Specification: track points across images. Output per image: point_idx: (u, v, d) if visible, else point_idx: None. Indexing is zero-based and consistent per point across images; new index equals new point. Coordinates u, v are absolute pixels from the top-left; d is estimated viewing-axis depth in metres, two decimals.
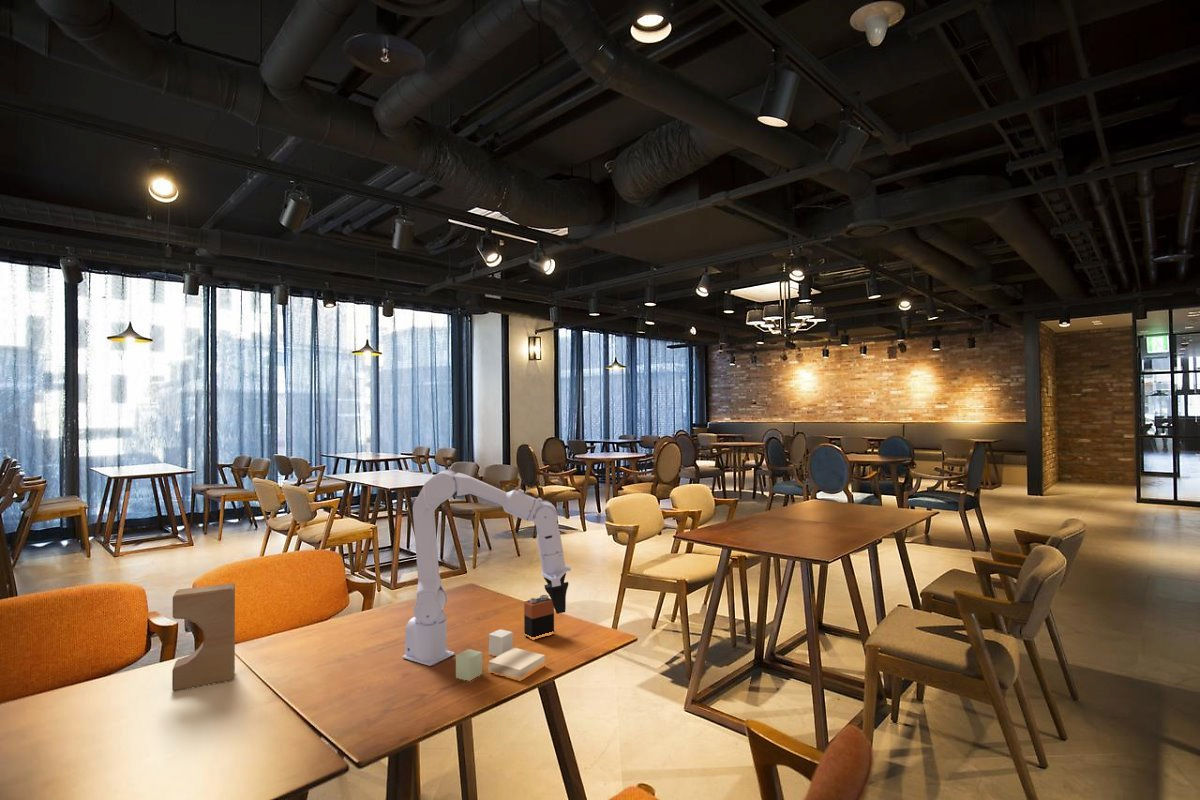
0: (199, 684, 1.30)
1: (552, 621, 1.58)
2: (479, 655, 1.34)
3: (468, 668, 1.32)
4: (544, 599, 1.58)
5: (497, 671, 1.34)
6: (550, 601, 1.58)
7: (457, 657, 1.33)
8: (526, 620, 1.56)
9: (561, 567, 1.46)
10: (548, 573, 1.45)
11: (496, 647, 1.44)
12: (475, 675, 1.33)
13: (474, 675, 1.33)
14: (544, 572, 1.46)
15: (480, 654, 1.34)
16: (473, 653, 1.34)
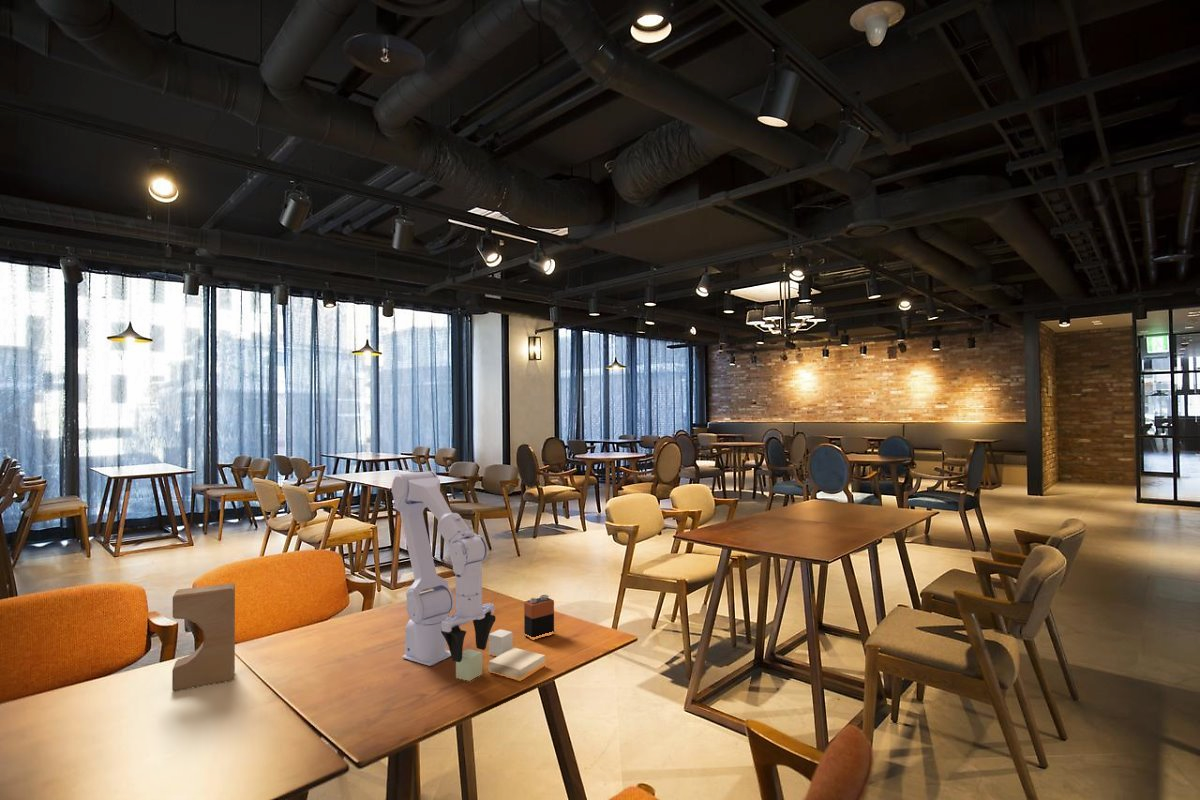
0: (199, 684, 1.30)
1: (552, 621, 1.58)
2: (479, 655, 1.34)
3: (468, 668, 1.32)
4: (544, 599, 1.58)
5: (497, 671, 1.34)
6: (550, 601, 1.58)
7: None
8: (526, 620, 1.56)
9: (468, 613, 1.31)
10: (455, 614, 1.33)
11: (496, 647, 1.44)
12: (475, 675, 1.33)
13: (474, 675, 1.33)
14: (456, 611, 1.34)
15: (480, 654, 1.34)
16: (473, 653, 1.34)
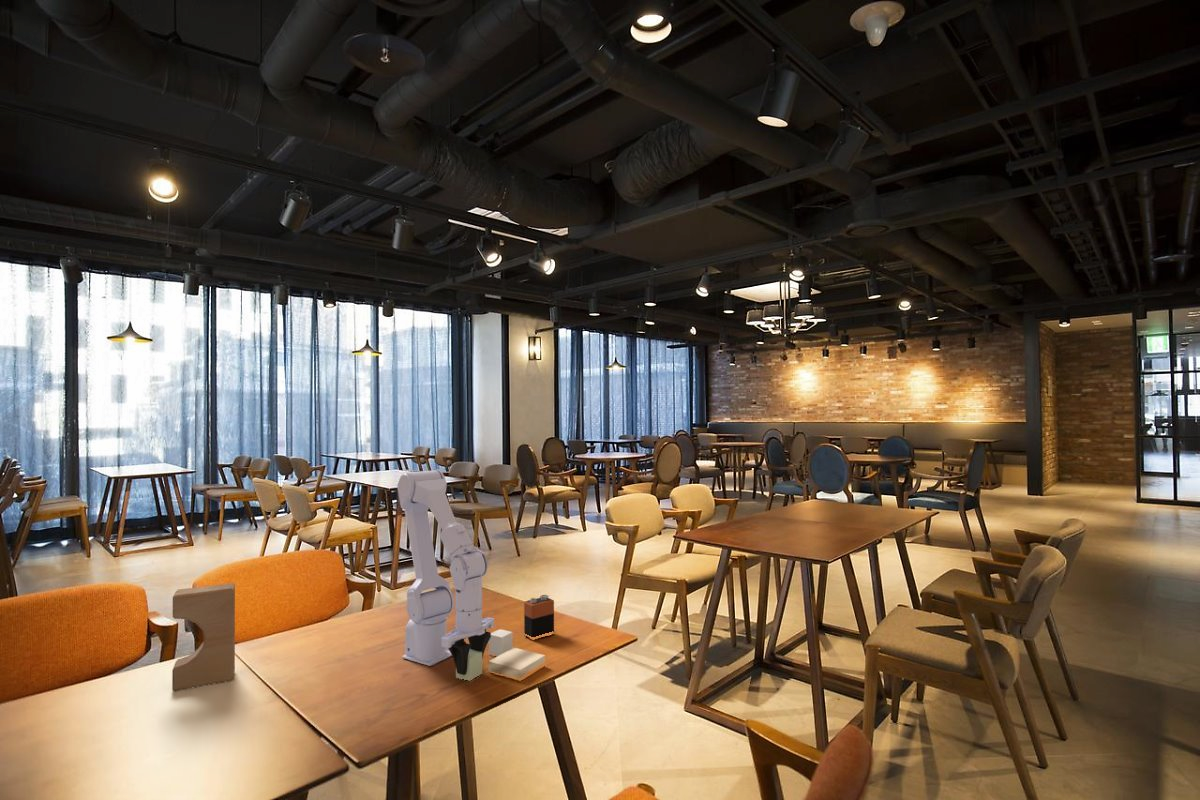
0: (199, 684, 1.30)
1: (552, 621, 1.58)
2: (479, 655, 1.34)
3: (468, 668, 1.32)
4: (544, 599, 1.58)
5: (497, 671, 1.34)
6: (550, 601, 1.58)
7: None
8: (526, 620, 1.56)
9: (468, 628, 1.31)
10: (455, 629, 1.33)
11: (496, 647, 1.44)
12: (475, 675, 1.33)
13: (474, 675, 1.33)
14: None
15: (480, 654, 1.34)
16: (473, 653, 1.34)
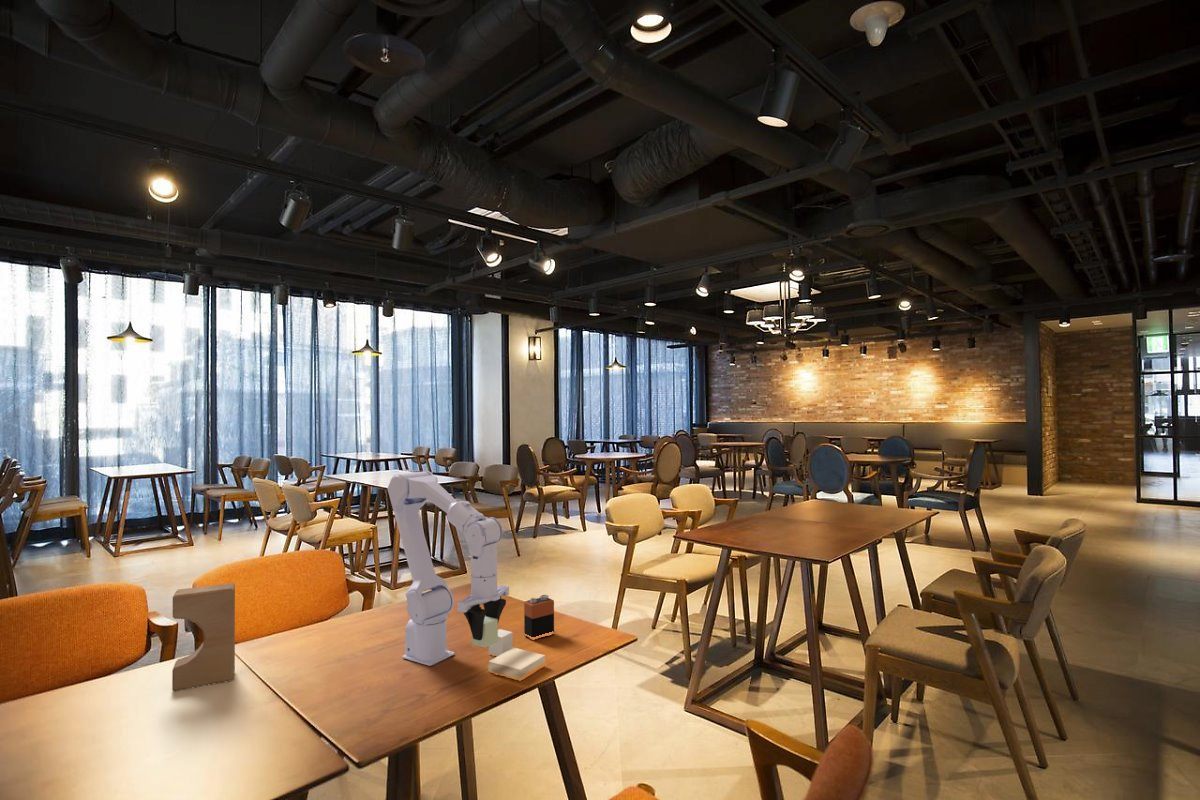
0: (199, 684, 1.30)
1: (552, 621, 1.58)
2: (494, 622, 1.35)
3: (484, 634, 1.32)
4: (544, 599, 1.58)
5: (497, 671, 1.34)
6: (550, 601, 1.58)
7: None
8: (526, 620, 1.56)
9: (483, 594, 1.32)
10: (471, 595, 1.34)
11: (496, 647, 1.44)
12: (491, 641, 1.34)
13: (490, 641, 1.34)
14: (471, 593, 1.35)
15: (496, 620, 1.35)
16: (489, 619, 1.35)
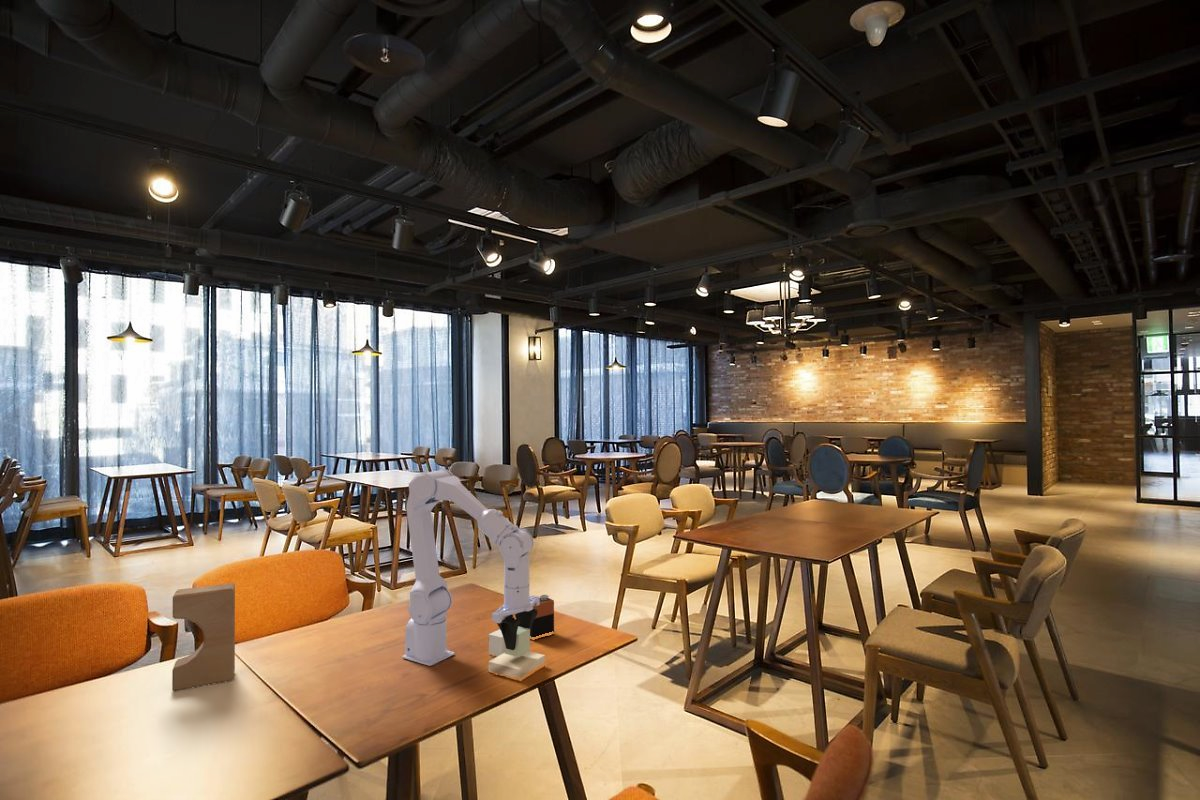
0: (199, 684, 1.30)
1: (552, 621, 1.58)
2: (527, 631, 1.37)
3: (517, 644, 1.35)
4: (544, 599, 1.58)
5: (497, 671, 1.34)
6: (550, 601, 1.58)
7: None
8: None
9: (516, 605, 1.35)
10: (504, 606, 1.36)
11: (496, 647, 1.44)
12: (524, 651, 1.36)
13: (523, 651, 1.36)
14: (504, 603, 1.37)
15: (528, 630, 1.38)
16: (521, 629, 1.38)
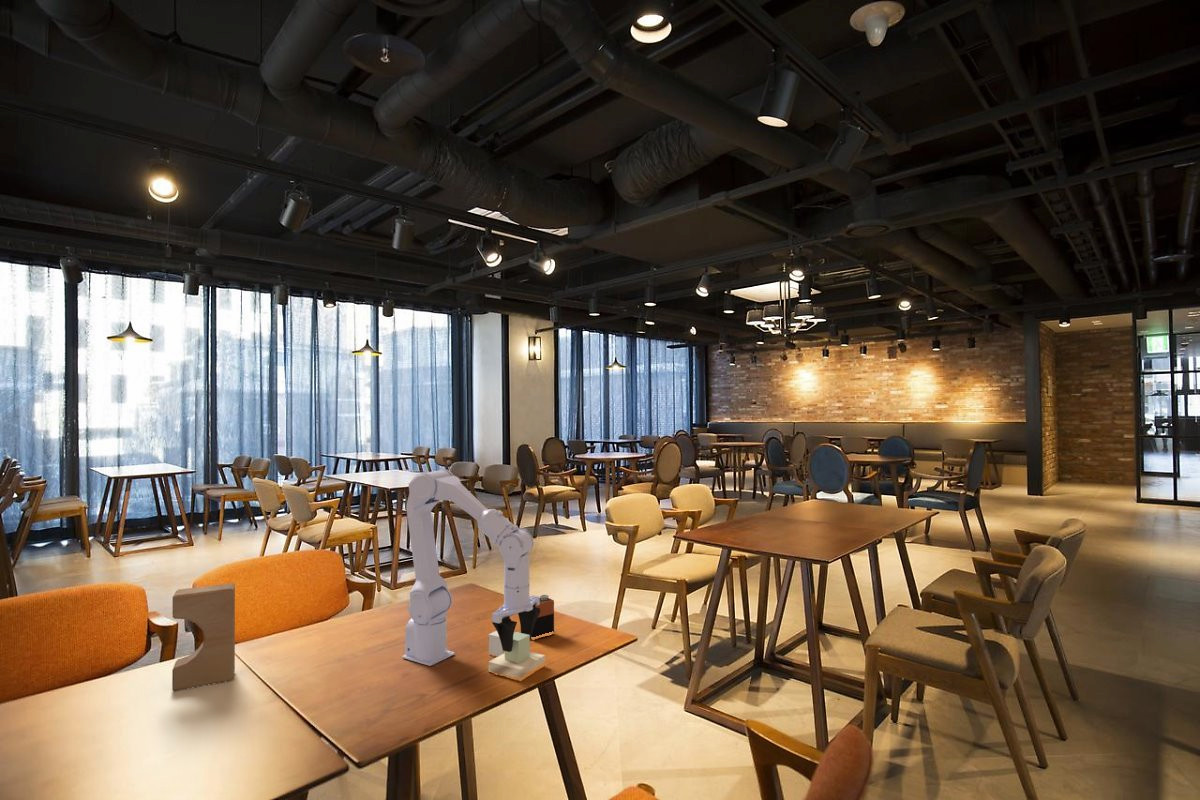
0: (199, 684, 1.30)
1: (552, 621, 1.58)
2: (527, 638, 1.37)
3: (517, 650, 1.35)
4: (544, 599, 1.58)
5: (497, 671, 1.34)
6: (550, 601, 1.58)
7: None
8: None
9: (516, 605, 1.35)
10: (504, 606, 1.36)
11: (496, 647, 1.44)
12: (523, 657, 1.36)
13: (523, 657, 1.36)
14: (504, 603, 1.37)
15: (528, 636, 1.38)
16: (521, 635, 1.38)
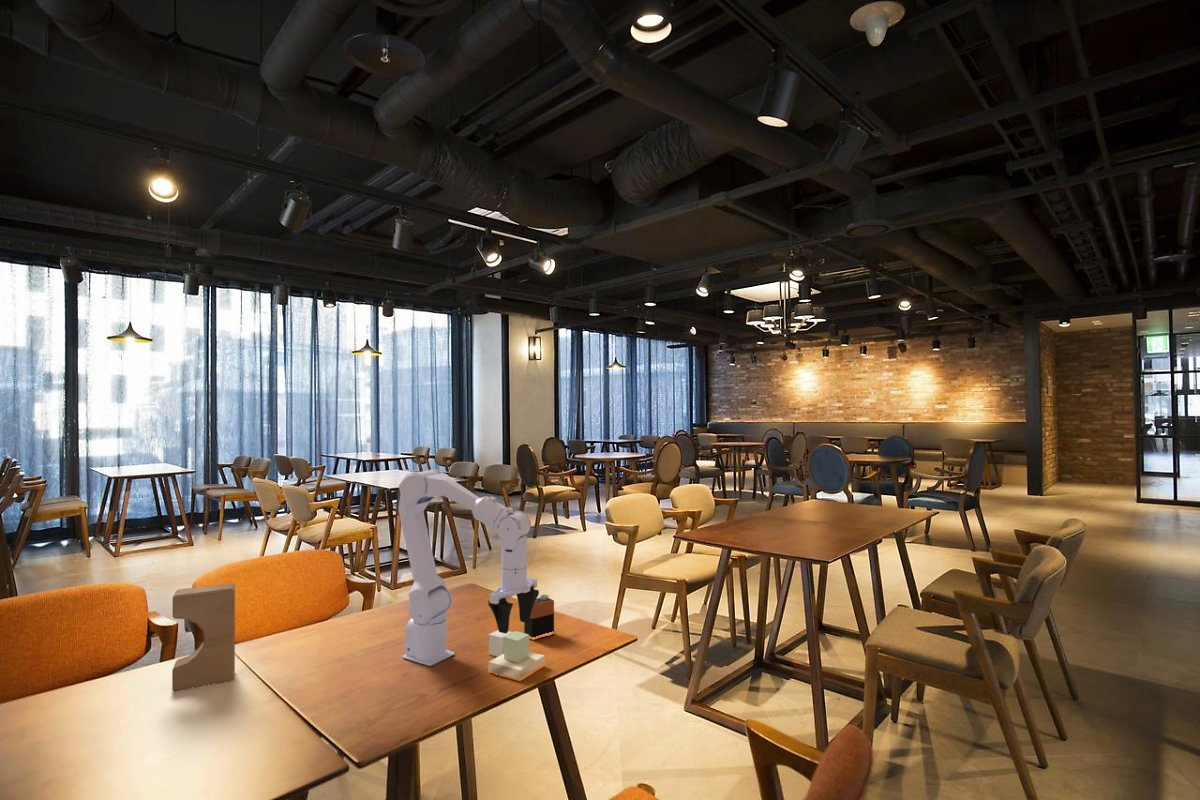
0: (199, 684, 1.30)
1: (552, 621, 1.58)
2: (526, 637, 1.37)
3: (516, 650, 1.35)
4: (544, 599, 1.58)
5: (497, 671, 1.34)
6: (550, 601, 1.58)
7: (505, 639, 1.37)
8: None
9: (514, 586, 1.35)
10: (502, 587, 1.37)
11: (496, 647, 1.44)
12: (523, 656, 1.36)
13: (522, 656, 1.36)
14: None
15: (527, 636, 1.38)
16: (520, 635, 1.38)
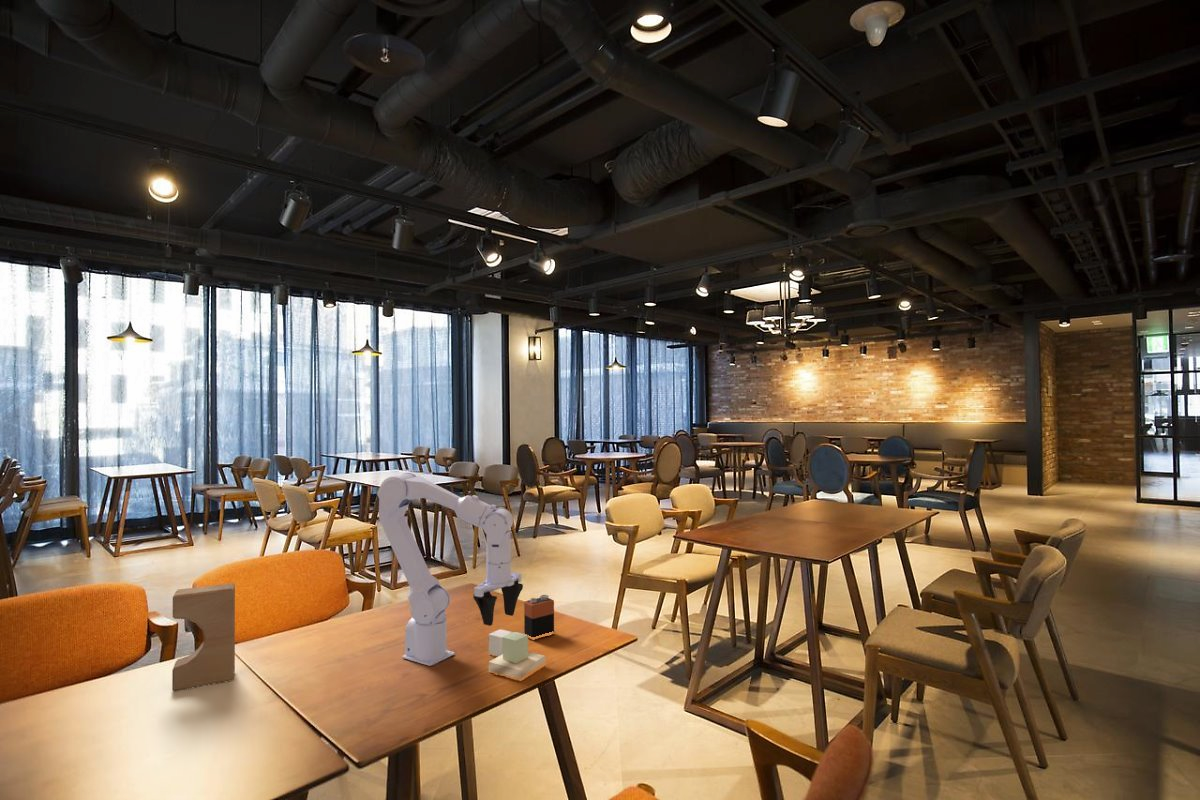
0: (199, 684, 1.30)
1: (552, 621, 1.58)
2: (525, 638, 1.37)
3: (514, 650, 1.35)
4: (544, 599, 1.58)
5: (497, 671, 1.34)
6: (550, 601, 1.58)
7: (504, 639, 1.37)
8: (526, 620, 1.56)
9: (498, 580, 1.40)
10: (486, 581, 1.41)
11: (496, 647, 1.44)
12: (521, 657, 1.36)
13: (520, 657, 1.36)
14: None
15: (526, 637, 1.38)
16: (519, 635, 1.37)
